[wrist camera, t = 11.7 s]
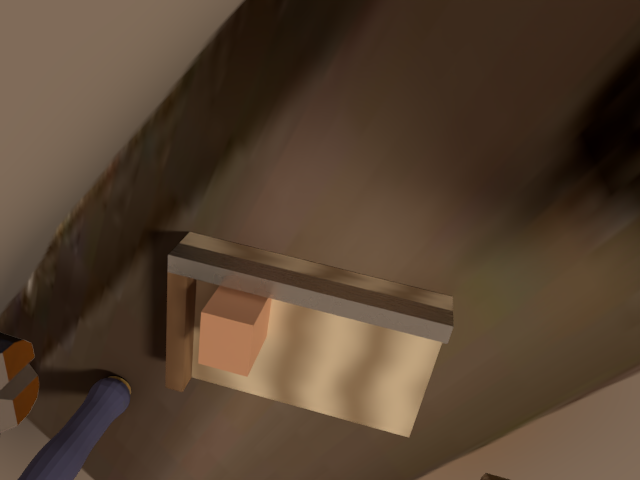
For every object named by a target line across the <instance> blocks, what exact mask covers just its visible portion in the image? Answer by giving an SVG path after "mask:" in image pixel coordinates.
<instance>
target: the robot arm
mask: <svg viewBox="0 0 640 480" xmlns="http://www.w3.org/2000/svg"><path fill="white" fill-rule="evenodd" d="M34 357H35V355H34V351H33V346H32V343H30V342H28V341H25V340H23V339H20V338H17V337H13V336H10V335H7V334H4V333H1V332H0V433H2V432H4V431H7V430H9V429H11V428H14V427H16V426H18V425H19V424H20V423H21V421H22V420H23V419H24V418H25V417H26V416H27V415H28V414H29V413H30V411H31V409H32V407H33V405H34V403H35V401H36V399H37V397H38V391H39V379H38V375H37V373H36V372H35V371H34V370H33V368H32V367H31V366H30V364H29V363H30V362H31V361H32V360H33V359H34ZM480 480H509V479H505V478H502V477H499V476H494V475H491V474H488V473H485V474H484V475H483V476H482V477H481V479H480Z"/></svg>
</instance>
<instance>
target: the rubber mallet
mask: <svg viewBox="0 0 640 480" xmlns="http://www.w3.org/2000/svg"><path fill="white" fill-rule="evenodd" d="M130 394H131V387H130V386H129V384H128V383H127V382H126V381H125V380H124V379H122V378H120V377H117V376H110V377H108V378H104V379H101V380H99V381H98V382H96V383H95V384H94V385H93V386H92V388H91V389H90V391H89V393H88V395H87V397H86V399H85V401H84V403H83V404H82V405H81V406H80V408H79V409H78V410H77V411H76V413H75V414H74V415H73V416H72V417H71V419H70V420H69V421H68V422H67V424H66V425H65V426H64V427H63V428H62V429H61V430H60V432H59V433H58V434H56V435H55V436H54V437H53V438H52V439H51V440H50V441H49V442H48V443H47V444H46V445H45V446H44V447H43V448H42V449H41V450H40V451H39V452H38V454H37V455H36V456H35V457H34V459H33V460H32V461H31V462H30V464H29V465H28V466H27V468H26V469H25V470H24V472H23V473H22V475H21V476H20V477H19V479H18V480H73V479H74V478H75V477H76V475H77V474H78V472H79V471H80V469H81V467H82V466H83V464H84V462H85V460H86V458H87V457H88V455H89V453H90V451H91V450H92V448H93V447H94V445H95V444H96V443H97V441H98V440H99V439H100V437H101V436H102V435H103V433H104V432H105V431H106V429H107V428H108V426H109V425H110V424H111V423H112V421H113V420H114V419H115V418H117V417H118V416H119V415H120V414H121V413H123V412H124V411H125V409H126V408H127V407H128V405H129V402H130Z"/></svg>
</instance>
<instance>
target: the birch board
mask: <svg viewBox="0 0 640 480" xmlns="http://www.w3.org/2000/svg"><path fill="white" fill-rule="evenodd" d="M180 243H182V244H186V245H190V246H194V247H198V248H202V249H206V250H210V251H214V252H218V253H222V254H226V255H230V256H234V257H238V258H242V259H246V260H250V261H255V262H259V263H263V264H267V265H271V266H275V267H279V268H283V269H287V270H291V271H295V272H299V273H303V274H307V275H311V276H315V277H319V278H323V279H327V280H331V281H335V282H339V283H343V284H347V285H351V286H355V287H359V288H363V289H367V290H371V291H375V292H379V293H383V294H387V295H391V296H395V297H399V298H403V299H407V300H411V301H415V302H419V303H423V304H427V305H431V306H435V307H439V308H443V309H447V310H451V311H453V297H452V296H448V295H444V294H440V293H436V292H432V291H428V290H424V289H420V288H416V287H412V286H408V285H404V284H399V283H395V282H391V281H387V280H383V279H379V278H375V277H371V276H367V275H363V274H359V273H355V272H351V271H347V270H343V269H339V268H335V267H330V266H326V265H322V264H318V263H314V262H310V261H306V260H302V259H298V258H294V257H290V256H286V255H282V254H278V253H274V252H270V251H266V250H262V249H257V248H253V247H249V246H245V245H241V244H237V243H233V242H229V241H225V240H221V239H217V238H213V237H209V236H205V235H201V234H197V233H193V232H189V233H188V234H187V235H186V236H185V237H184V238H183V239H182V241H181V242H180ZM219 286H220V285H216V284H212V283H208V282H205V281H201V280H197V279H193V278H189V277H185V276H181V275H177V274H173V273H169V272H168V277H167V332H166V388H169V389H172V390H176V391H180V392H183V390H184V389H185V387H186V385H187V384H188V382H189V381H190V379H191V377H193V378H197V379H200V380H204V381H208V382H211V383H215V384H218V385H222V386H226V387H229V388H233V389H236V390H240V391H244V392H247V393H251V394H254V395H258V396H262V397H265V398H269V399H272V400H276V401H280V402H283V403H287V404H290V405H294V406H298V407H301V408H305V409H308V410H312V411H316V412H319V413H323V414H326V415H330V416H334V417H337V418H341V419H344V420H348V421H352V422H355V423H359V424H362V425H366V426H370V427H373V428H377V429H380V430H384V431H388V432H391V433H395V434H398V435H402V436H406V437H409V436H410V433H411V430H412V428H413V425H414V422H415V419H416V416H417V413H418V410H419V407H420V405H421V402H422V399H423V396H424V393H425V390H426V387H427V384H428V382H429V379H430V376H431V373H432V370H433V367H434V364H435V361H436V359H437V356H438V353H439V350H440V347H441V344H442V342H439V341H435V340H431V339H427V338H423V337H419V336H415V335H411V334H407V333H403V332H400V331H396V330H392V329H388V328H384V327H380V326H376V325H372V324H368V323H364V322H361V321H357V320H353V319H349V318H345V317H341V316H337V315H333V314H329V313H325V312H322V311H318V310H314V309H310V308H306V307H302V306H298V305H294V304H290V303H286V302H283V301H279V300H275V299H272V301H271V308H270V316H269V323H268V330H267V337H266V339H265V341H264V343H263V346H262V348H261V350H260V352H259V354H258V356H257V358H256V360H255V362H254V364H253V366H252V368H251V371H250V373H249V375H248V377H246V376H242V375H239V374H235V373H231V372H228V371H224V370H220V369H217V368H213V367H209V366H206V365H202V364H198V358H199V340H200V322H201V311H202V310H203V308H204V307H205V306H206V304H207V303H208V301H209V300H210V299H211V297H212V296H213V294H214V293H215V291H216V290H217V289H218V287H219Z"/></svg>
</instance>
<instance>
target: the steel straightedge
mask: <svg viewBox="0 0 640 480" xmlns="http://www.w3.org/2000/svg"><path fill="white" fill-rule="evenodd" d="M168 272H169V273H173V274H177V275H181V276H185V277H189V278H193V279H197V280H201V281H205V282H208V283H212V284H216V285H220V286H224V287H228V288H232V289H236V290H240V291H244V292H247V293H251V294H255V295H259V296H263V297H267V298H271V299H275V300H279V301H283V302H286V303H290V304H294V305H298V306H302V307H306V308H310V309H314V310H318V311H322V312H325V313H329V314H333V315H337V316H341V317H345V318H349V319H353V320H357V321H361V322H364V323H368V324H372V325H376V326H380V327H384V328H388V329H392V330H396V331H400V332H403V333H407V334H411V335H415V336H419V337H423V338H427V339H431V340H435V341H439V342H442V343H446V344H448V341H449V338H450V335H451V332H452V330H453V311H451V310H447V309H443V308H439V307H435V306H431V305H427V304H423V303H419V302H415V301H411V300H407V299H403V298H399V297H395V296H391V295H387V294H383V293H379V292H375V291H371V290H367V289H363V288H359V287H355V286H351V285H347V284H343V283H339V282H335V281H331V280H327V279H323V278H319V277H315V276H311V275H307V274H303V273H299V272H295V271H291V270H287V269H283V268H279V267H275V266H271V265H267V264H263V263H259V262H255V261H250V260H246V259H242V258H238V257H234V256H230V255H226V254H222V253H218V252H214V251H210V250H206V249H202V248H198V247H194V246H190V245H186V244H182V243H179V244H178V245H177V246H176V247H175V248H174V249H173V250H172V251H171V252H170V253H169V254H168Z"/></svg>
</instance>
